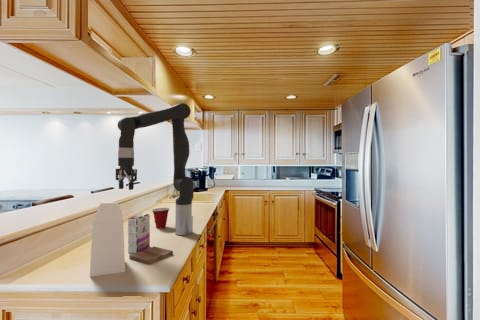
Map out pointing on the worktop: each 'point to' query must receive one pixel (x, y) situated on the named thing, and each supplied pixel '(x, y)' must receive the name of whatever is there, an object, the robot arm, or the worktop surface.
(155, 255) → the board
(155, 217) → the plastic cup
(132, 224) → the candy bar box
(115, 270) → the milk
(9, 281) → the worktop surface
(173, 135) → the robot arm
